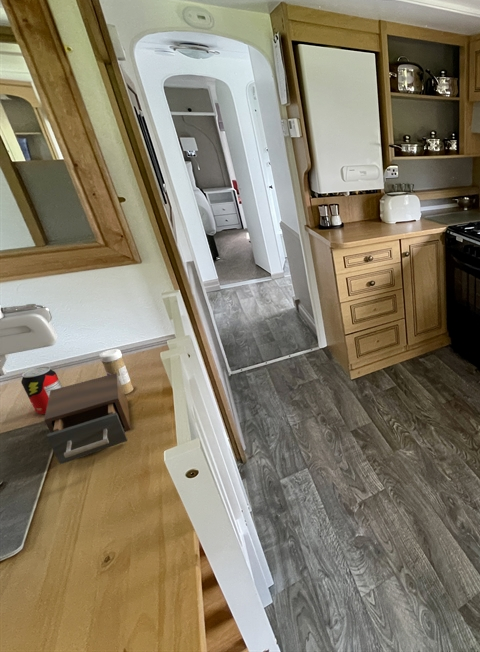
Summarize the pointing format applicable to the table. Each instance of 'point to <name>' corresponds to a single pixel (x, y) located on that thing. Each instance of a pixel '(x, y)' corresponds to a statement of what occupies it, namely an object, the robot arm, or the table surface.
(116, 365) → the sprinkles bottle
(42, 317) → the robot arm
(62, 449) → the drawer
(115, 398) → the cabinet
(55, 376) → the beverage can
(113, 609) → the table surface
